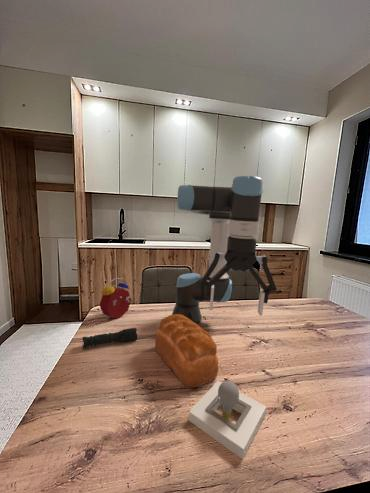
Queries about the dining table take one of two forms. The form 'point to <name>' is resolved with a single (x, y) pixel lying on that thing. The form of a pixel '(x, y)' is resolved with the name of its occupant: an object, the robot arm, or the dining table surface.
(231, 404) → the light bulb
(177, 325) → the bread
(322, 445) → the dining table surface
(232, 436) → the socket block
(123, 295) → the alarm clock
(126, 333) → the flashlight
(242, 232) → the robot arm
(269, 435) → the dining table surface
